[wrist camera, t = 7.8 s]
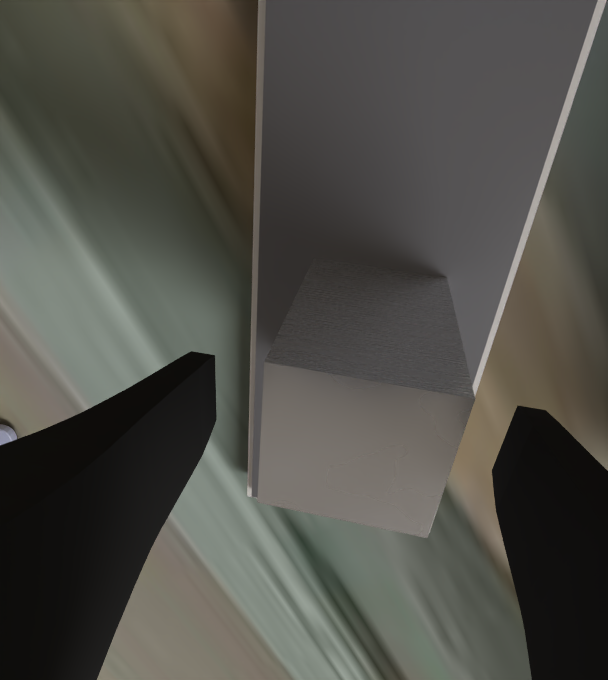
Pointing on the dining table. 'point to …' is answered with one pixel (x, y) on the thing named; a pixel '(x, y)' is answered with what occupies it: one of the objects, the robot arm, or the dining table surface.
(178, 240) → the dining table surface
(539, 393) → the dining table surface
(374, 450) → the block
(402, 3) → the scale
